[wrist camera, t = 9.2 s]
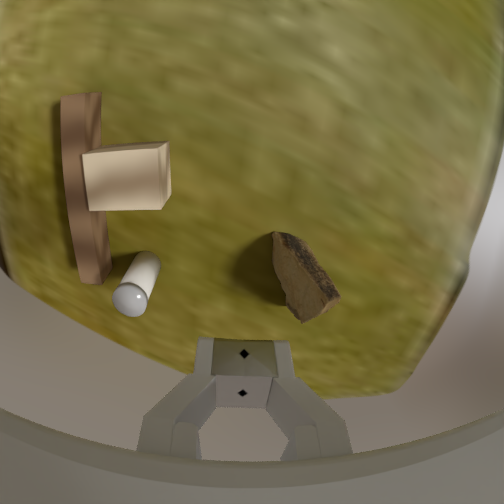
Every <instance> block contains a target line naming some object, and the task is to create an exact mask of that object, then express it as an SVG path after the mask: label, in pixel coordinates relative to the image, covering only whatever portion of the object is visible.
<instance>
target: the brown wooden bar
mask: <svg viewBox="0 0 504 504" xmlns="http://www.w3.org/2000/svg"><path fill="white" fill-rule="evenodd" d="M101 93H102V92H95V93H81V94H74V95H68V96H62V97H61V149H62V164H63V176H64V186H65V195H66V203H67V210H68V217H69V224H70V230H71V236H72V241H73V247H74V252H75V257H76V261H77V266H78V271H79V275H80V279H81V283H89V284H98V285H102V284H103V282H104V281H105V279H106V278H107V276H108V274H109V273H110V271H111V270H112V268H113V266H112V260H111V253H110V246H109V239H108V231H107V222H106V213H105V211H89V205H88V198H87V191H86V184H85V175H84V167H83V157H82V154H85V153H87V152H89V151H91V150H94V149H96V148H98V147H101Z"/></svg>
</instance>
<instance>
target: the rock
mask: <svg viewBox="0 0 504 504" xmlns="http://www.w3.org/2000/svg"><path fill="white" fill-rule="evenodd" d="M272 238H273V253H272V256H273V259H272V262H273V266H274V269H275V273H276V274H277V277H278V279H279V280H280V282H281V287H282V289H283V290H284V292H285V293H286V306H287V308H288V309H289V310H290V311H291V312H292V313H293V314H294V316H295V317H296V318H297V319H298V320H301V323H302V324H303V323H305V322H307V321H309V320H311V319H312V318H315V317H317V316H318V315H320V314H323V313H325V312H327V311H328V310H329V309H330V308H332V307H333V306H335V305H336V304H338V303H339V301H340V299H341V295H340V293H339V292H338V290H337V288H336V287H335V284H334V283H333V281H332V279H331V278H330V277H329V275H328V274H327V273H326V272H325V271H324V270H323V268H322V267H321V266H320V265H319V263H318V261H317V259H316V257H315V255H314V253H313V251H312V250H311V248H310V247H309V245H308V244H307V243H306V242H305V241H303V240H301V239H299V238H297V237H295V236H293V235H291V234H287V233H278V232H273V233H272Z"/></svg>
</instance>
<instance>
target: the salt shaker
mask: <svg viewBox="0 0 504 504" xmlns="http://www.w3.org/2000/svg"><path fill="white" fill-rule="evenodd" d="M160 269H161V262H160V260H159V258H158V257H157V256H156V255H155V254H154V253H152V252H149V251H142V252H139V253H138V254H137V255H136V256H135V258H134V260H133V261H132V263H131V265H130V267H129V268H128V270H127V272H126V274H125V275H124V277H123V279H122V281H121V283H120V284H119V285H118V286H117V288H116V290H115V292H114V293H113V296H112V300H113V304H114V306H115V307H116V308H117V310H119V311H120V312H121V313H123V314H125V315H127V316H132V317H135V316H139V315H141V314H143V313H144V311H145V309H146V306H147V304H148V299H149V296H150V294H151V291H152V289H153V286H154V284H155V281H156V279H157V276H158V274H159V271H160Z"/></svg>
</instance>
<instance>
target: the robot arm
mask: <svg viewBox="0 0 504 504" xmlns="http://www.w3.org/2000/svg"><path fill="white" fill-rule="evenodd" d="M216 407H241V408H266V411H267V412H268V413H269V415H270V416H271V417H272V418H273V420H274V421H275V423H276V424H277V425H278V427H279V428H280V429H281V431H282V432H283V433H284V434H285V436H286V437H287V438H288V440H289V442H288V444H287V446H286V448H285V450H284V452H283V454H282V456H281V458H280V459H281V461H267V462H239V461H214V460H202V459H201V458H202V456H201V449H200V441H199V433H198V431H199V429H200V428H201V427H202V426H203V424H204V423H205V422H206V421H207V419H208V418H209V417H210V415H211V414H212V413H213V411H214V410H215V409H216ZM0 504H504V409H502V410H499V411H497V412H495V413H493V414H490V415H488V416H486V417H483V418H481V419H478V420H476V421H473V422H471V423H468V424H466V425H463V426H460V427H457V428H454V429H452V430H448V431H445V432H442V433H440V434H436V435H433V436H429V437H426V438H423V439H419V440H415V441H412V442H408V443H404V444H400V445H396V446H391V447H387V448H382V449H377V450H372V451H366V452H361V453H355V454H353V452H352V448H351V443H350V439H349V435H348V431H347V427H346V423H345V420H343V419H342V418H341V417H340V416H339V415H338V414H337V413H336V412H335V411H334V410H332V408H331V407H330V406H328V405H327V404H326V403H325V402H324V401H323V400H322V399H321V398H320V397H319V396H318V395H317V394H316V393H315V392H314V391H313V390H312V389H311V388H310V387H309V386H308V385H307V384H306V383H305V382H304V381H303V380H302V379H301V378H300V377H295V374H294V368H293V362H292V356H291V351H290V345H289V342H288V341H287V340H273V341H272V340H237V339H224V338H209V337H199V339H198V343H197V350H196V357H195V365H194V372H193V374H188V375H187V376H186V377H185V378H184V379H183V380H182V381H181V382H180V383H179V384H178V385H177V386H175V387H174V388H173V389H172V390H171V391H170V392H169V393H168V394H167V395H166V396H165V397H164V398H163V399H162V400H161V401H159V402H158V403H157V404H156V405H155V406H154V407H153V408H152V409H151V410H150V411H149V412H147V413H146V414H145V415H144V417H143V422H142V427H141V431H140V436H139V441H138V445H137V450H136V451H134V450H129V449H124V448H119V447H115V446H110V445H106V444H102V443H98V442H94V441H90V440H87V439H83V438H80V437H76V436H73V435H70V434H66V433H63V432H60V431H57V430H54V429H51V428H48V427H46V426H43V425H40V424H38V423H35V422H32V421H30V420H27V419H25V418H22V417H20V416H18V415H15V414H13V413H11V412H8V411H6V410H4V409H2V408H0Z"/></svg>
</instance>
